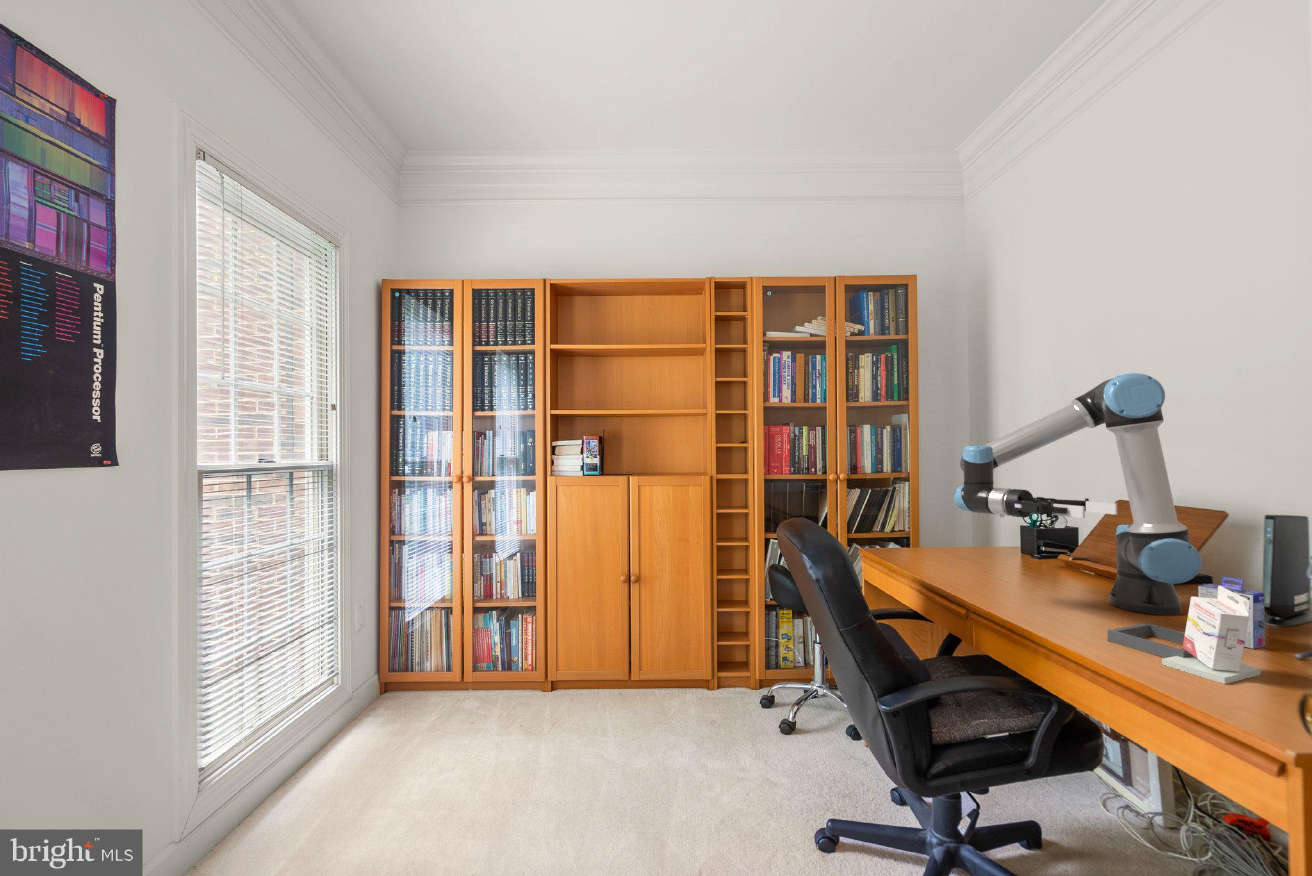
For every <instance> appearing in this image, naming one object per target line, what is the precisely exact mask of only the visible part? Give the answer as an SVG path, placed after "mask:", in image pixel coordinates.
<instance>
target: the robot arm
mask: <svg viewBox="0 0 1312 876" xmlns="http://www.w3.org/2000/svg"><path fill="white" fill-rule="evenodd" d="M1165 400H1166V392H1165V389H1164V387H1163V385H1162V384H1161V383H1160V382H1159V380H1157V379H1156V378H1154V377H1152V376H1150V375H1149V374H1145V373H1139V372H1138V373H1136V372H1135V373H1133V372H1131V373H1124V374H1120V375H1117V376H1115V377H1113V378H1110V379H1109V378H1108V379H1107V380H1104V381H1102V382H1101V383H1100V384H1098V385H1096V386H1095V387H1093V388H1092V389H1090V390H1088V391H1087V392H1085V393H1083V394H1082V395H1080V396H1078V397H1076V398H1073V399H1071V402H1070V404H1068V405H1067V406H1064V407H1062V408H1061V409H1058V410H1057V411H1054V412H1052V413H1049V414H1048V415H1046V416H1043V417H1042V418H1039V419H1037V420H1035V421H1033V422H1031V423H1029V424H1026V425H1024V426H1023V427H1020V428H1018V429H1016V430H1013V431H1012V432H1010V433H1007V434H1005V435H1004V436H1001V437H1000V438H997V439H995V440H992V441H991V442H988V443H985V444H984V445H966V446H965V447H964V448H963V452H962V453H963V454H962V456H961V458H960V462H959V466H960V469H961V471H962V472H963V485H960V486H958V487H957V489H956V490H955V494H954V495H953V496H954V497H953V498H954V499H953V500H954V503H955V505H956V507H957V508H958V509H959V510H961V511H967V512H971V513H979V514H987V515H988V514H989V515H999V516H1000V518H1004V517H1005V516H1008V517H1015V518H1028V517H1030V516H1031V514H1035V515H1040V516H1043V515H1045V516H1046V518H1051V519H1052V518H1053V516H1060V517H1068V518H1069V517H1070V518H1079V519H1085V518H1086V515H1085V513H1095V514H1103V515H1104V514H1106V515H1118V503H1116V502H1115V503H1114V502H1104V501H1093V500H1092V501H1091V500H1089V499H1090V498H1084V500H1081V499H1080V500H1079V499H1057V498H1054V497H1053V498H1052V497H1049V498H1047V497H1044V496H1043V497H1042V496H1036V497H1034V496H1033V493H1031V491H1029V490H1027V489H1021V488H1020V489H1018V488H1014V489H1013V488H1007V487H1006V488H1005V487H994V484H995V483H994V470H995V469H997V468H999V467H1001V466H1003V465H1006V464H1007V463H1010V462H1013V460H1016V459H1018V458H1020V457H1023V456H1026V455H1027V454H1030V453H1032V452H1034V451H1036V450H1038V449H1039V450H1040V448H1042V447H1045V446H1047V445H1049V444H1052V443H1054V442H1057V441H1059V440H1060V439H1062V438H1066V437H1067V436H1070V435H1072V434H1074V433H1076V432H1079V431H1080V430H1084V429H1086V428H1088V429H1089V428H1090V429H1094V428H1096V427H1098V426H1101V425H1103V424H1105V428H1106V430H1107V431H1109V432H1111V433H1113V434H1114V435H1115V436H1114V437H1115V441H1116V446H1117V449H1118V454H1119V459H1120V460H1119V461H1120V465H1121V469H1122V474H1123V479H1124V484H1125V487H1126V488H1125V489H1126V492H1127V497H1128V502H1129V507H1130V511H1131V516H1132V521H1133V523H1132V524H1119V525H1118V526H1116V533H1115V538H1116V540H1115V541H1116V545H1115V546H1116V578H1115V582H1113V586H1112V587H1111V591H1110V593H1109V603H1110V604H1111V605H1113V606H1114V607H1116V608H1119V609H1123V610H1127V611H1132V612H1137V613H1140V614H1141V613H1143V614H1148V615H1158V616H1176V615H1180V614H1182V613H1183V611H1182V610H1183V609H1182V602H1181V600H1180V597H1179V595H1178V593H1177V591H1176V589H1175V587H1174V585H1179V584H1183V583H1186V582H1189V581H1191V580H1192V579H1194V578H1195V577H1196V576H1197V575H1198V574H1199V573H1200V571H1201V569H1202V565H1203V560H1202V556H1201V554H1200V552H1199V551H1198V550H1197V548H1196V547H1195V546H1194V545H1193V544H1191V539H1190V534H1189V530H1188V527H1187V526H1186V525H1184V524H1183V523H1182V522H1180V521H1178V516H1177V511H1176V508H1175V507H1176V506H1175V503H1174V499H1173V493H1172V489H1171V484H1170V480H1169V476H1168V470H1167V467H1166V462H1165V457H1164V452H1163V448H1162V443H1161V439H1160V434H1159V427H1160V426H1161V425H1162V424H1163V423H1164V421H1165V420H1164V415H1163V412H1162V411H1163V410H1162V407H1163V405H1164V403H1165Z"/></svg>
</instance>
